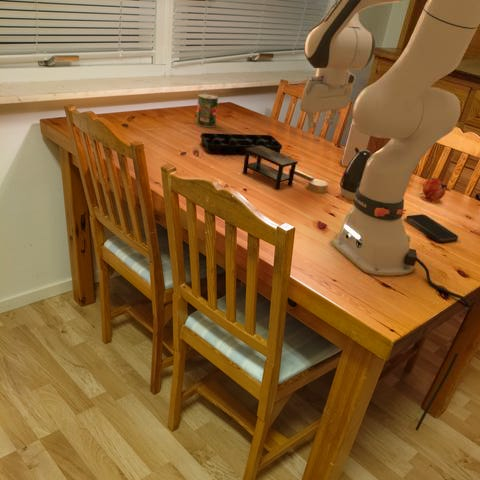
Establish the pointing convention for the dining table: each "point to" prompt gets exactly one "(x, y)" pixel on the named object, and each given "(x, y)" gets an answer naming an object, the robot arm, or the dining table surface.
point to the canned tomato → (207, 110)
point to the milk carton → (354, 144)
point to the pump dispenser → (354, 174)
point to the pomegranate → (433, 189)
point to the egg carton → (237, 142)
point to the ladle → (313, 182)
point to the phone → (431, 228)
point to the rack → (267, 170)
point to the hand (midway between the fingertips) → (320, 125)
